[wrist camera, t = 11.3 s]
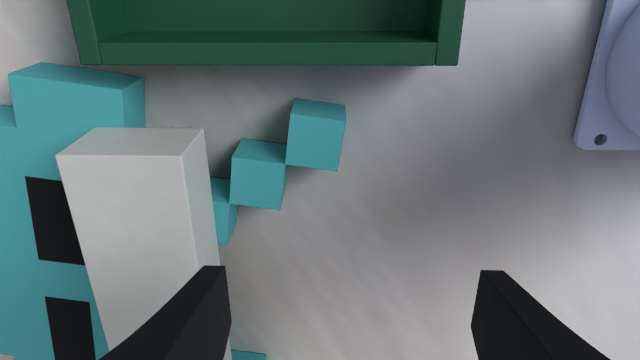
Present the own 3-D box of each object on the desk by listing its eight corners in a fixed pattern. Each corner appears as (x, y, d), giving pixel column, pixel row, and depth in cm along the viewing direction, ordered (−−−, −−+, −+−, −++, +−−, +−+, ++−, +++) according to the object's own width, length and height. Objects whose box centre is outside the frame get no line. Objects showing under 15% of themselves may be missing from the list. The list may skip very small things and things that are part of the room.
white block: (204, 127, 19) (181, 156, 16) (235, 388, 25) (223, 439, 22) (94, 126, 19) (53, 155, 16) (154, 386, 25) (132, 437, 23)
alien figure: (345, 105, 20) (-116, 40, 20) (345, 121, 18) (-166, 49, 18) (295, 410, 29) (-25, 370, 28) (292, 443, 27) (-53, 401, 26)
